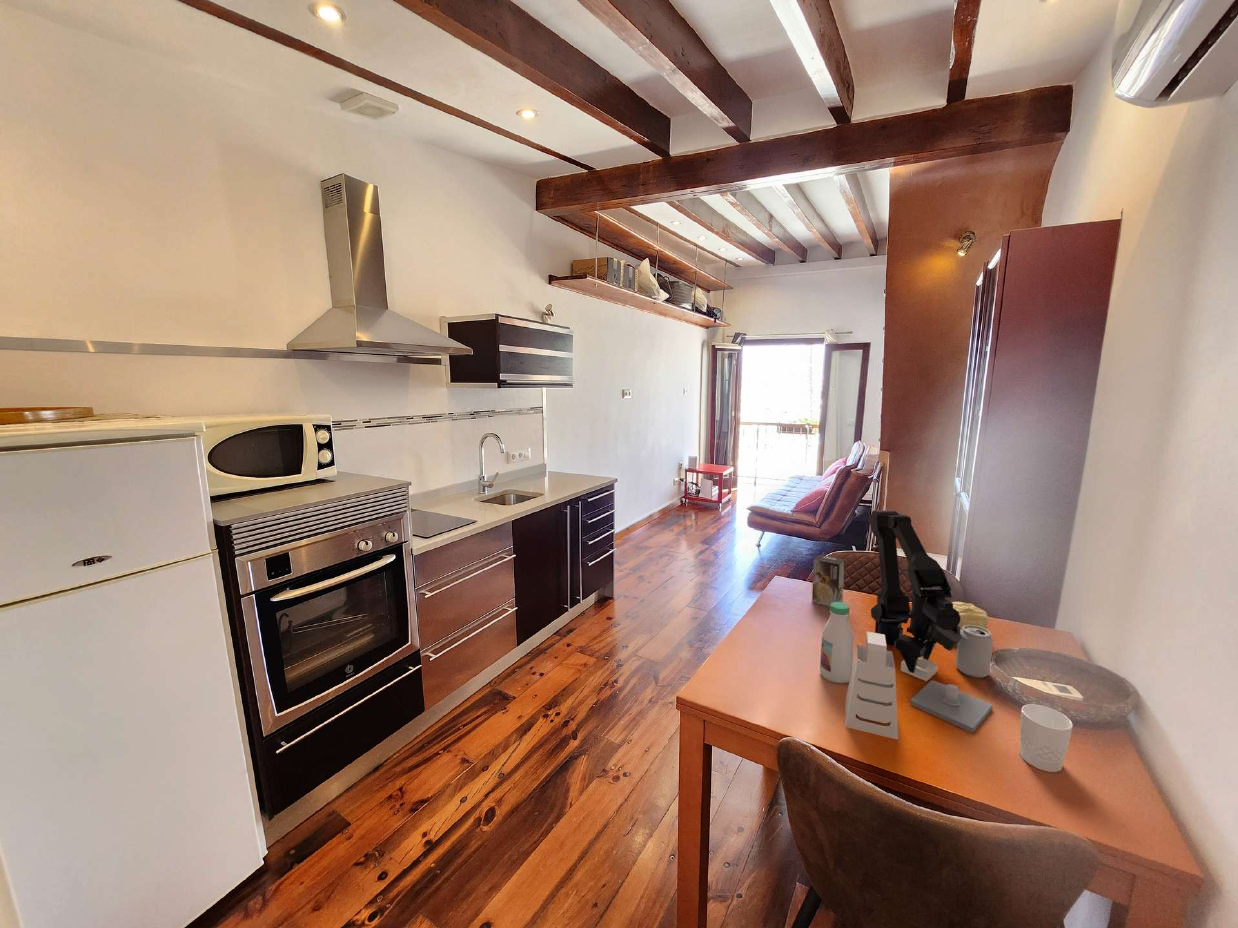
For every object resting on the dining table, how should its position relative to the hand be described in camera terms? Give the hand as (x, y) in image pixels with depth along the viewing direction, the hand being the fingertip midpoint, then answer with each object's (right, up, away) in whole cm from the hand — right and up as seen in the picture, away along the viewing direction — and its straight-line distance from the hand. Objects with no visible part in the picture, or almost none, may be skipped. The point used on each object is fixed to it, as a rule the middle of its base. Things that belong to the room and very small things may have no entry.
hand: (918, 665), depth 134 cm
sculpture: (+24, +1, +18) cm, 30 cm away
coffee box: (-7, +5, +43) cm, 43 cm away
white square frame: (0, -2, 0) cm, 2 cm away
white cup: (+6, -7, -31) cm, 33 cm away
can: (+14, -2, 0) cm, 14 cm away
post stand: (-1, -4, -14) cm, 15 cm away
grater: (-22, -5, -18) cm, 29 cm away
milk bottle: (-23, -2, -1) cm, 23 cm away
